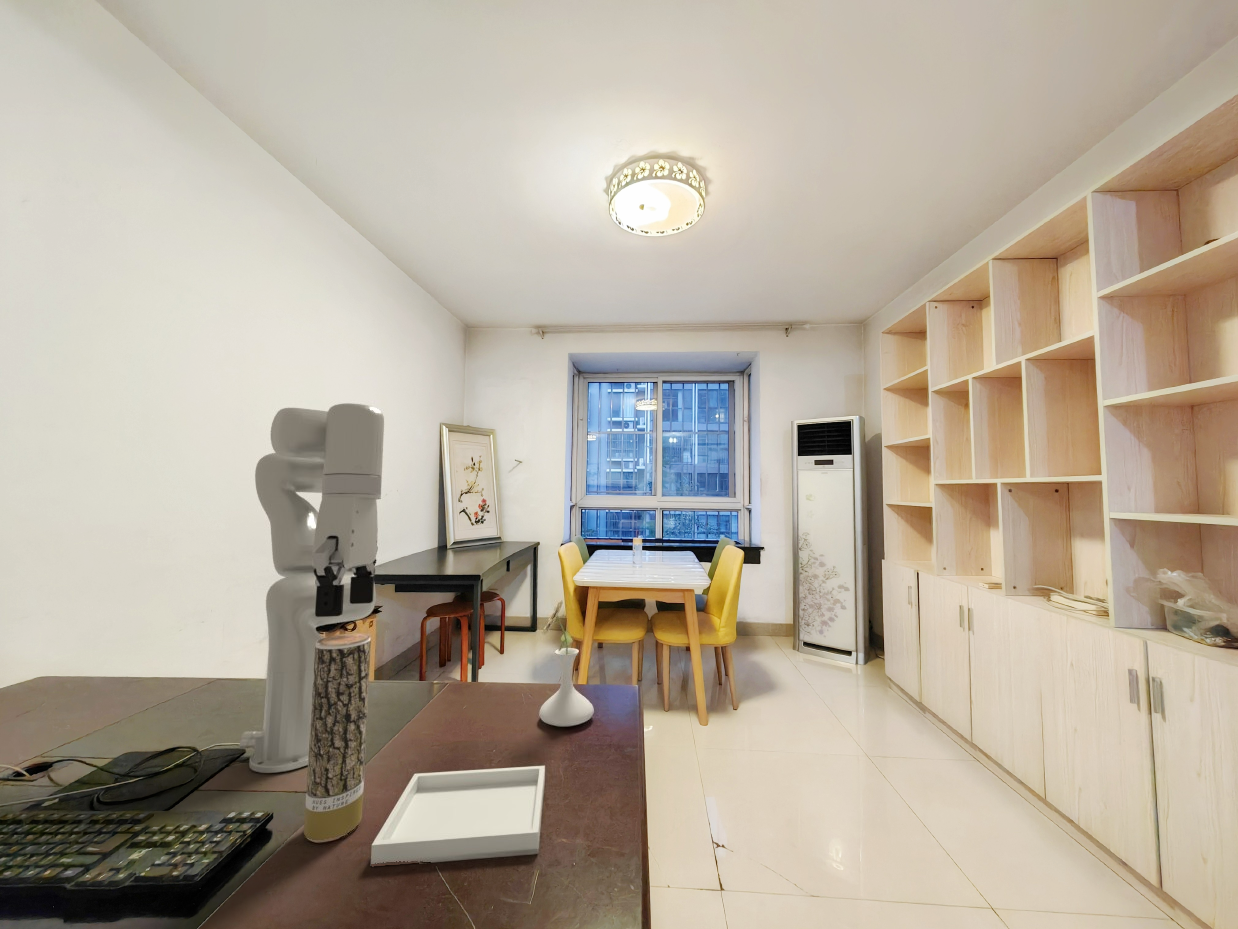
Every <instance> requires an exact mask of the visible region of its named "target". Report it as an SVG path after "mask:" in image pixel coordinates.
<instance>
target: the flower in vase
mask: <svg viewBox="0 0 1238 929" xmlns="http://www.w3.org/2000/svg"><path fill="white" fill-rule="evenodd" d="M563 600H564V599H559V600H558V602H557V605H555V607H554V609H553V612H552V615H551V616H550V617H549V618H548V619H547V622H548V623H547V624H546V625H545V626H544V628H543V629H542V636H543V635H544V636H545V635H546V634H547V633H548V632H549V631H550V630H551V628H552V626H553V625H554V623H556V622H558V624H559V626H560V628H561V630H562V633H563V634H562V635H561V637H560V641H561V644H560V646H559V648H558V649H556V650H555V651H554V654H555V655H556V656H557V658H558V660H559V664H560V665H559V666H560V670H561V675H560V676H561V679H560V680H561V683H560V687H559V689H558V690H557V691H556V692H555V693H554V694H553V695H552V696H550V697H549V698H548V699H546V701H545V702H544V703H543V704H542V705H541V707H540V708H539V712H538V716H539V717H540V719H541V721H542V722H544V723H545V724H548V725H550V726H556V727H573V726H577V725H581V724H583V723H585V722H587V721H588V720H590V719H591V718H592V716H593V715H594V712H595V710H594V706H593V703H591V702H590V700H589V699H588V698H586V697H585V696H584V695H582V694H581V693H580V692H579V691H578V690H576V688H575V687H574V684H573V668H574V667H573V666H574V663H575V659H576V656H578V655H579V652H580V651H579V649H577V648H572V647H570V645H572V643H573V642H574V641H573V639H572V636H571V635H570V633H569V632H568V630H565V628H564V626H563V624H562V622H561V620H560V618H559V614H560V611H561V609H562V606H563V603H564V601H563ZM564 646H565V648H564Z"/></svg>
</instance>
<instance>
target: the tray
mask: <svg viewBox="0 0 1238 929" xmlns="http://www.w3.org/2000/svg"><path fill="white" fill-rule="evenodd" d="M545 778H546V765H534V766H531V765H530V766H519V767H504V768H503V767H501V768H500V767H499V768H485V769H484V768H483V769H469V770H451V771H439V772H421V773H419V772H418V773H414V774H413V776H412V777H411V779H410V780H409V782H408V784H407V785H406V788H405V789H404V791H403V792H402V794H401V796H400V797H399V799H398V801H397V802H396V804H395V806H394V808H393V809H392V810H391V812H390V814H389V816H388V817H387V818H386V821H385V822H384V824H383V825H382V827H381V829H380V831H379V832H378V834H377V835H376V837H375V839H374V841H373V842H372V844H371V851H370V853H371V854H370V865H371V864H375V863H376V864H377V863H383V862H384V863H386V862H396V861H397V862H399V861H401V862H403V861H405V862H407V861H408V862H411V861H418V862H420V861H423V862H431V863H440V862H441V863H442V862H443V863H444V862H454V861H455V862H456V861H467V860H478V859H479V860H481V859H490V858H491V859H492V858H503V857H514V856H517V857H518V856H527V855H538V854H539V849H540V848H539V847H540V839H541V837H540V836H541V827H542V815H543V804H544V794H545V786H546V785H545V783H546V782H545V780H546V779H545Z"/></svg>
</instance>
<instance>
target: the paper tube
mask: <svg viewBox="0 0 1238 929" xmlns="http://www.w3.org/2000/svg"><path fill="white" fill-rule="evenodd" d="M371 636H372V635H371V634H369V633H364V632H353V633H352V632H351V633H341V634H339V633H338V634H334V635H330V636H326V637H323V638H322V639H319V640H317V641H316V646H315V659H314V675H313V692H312V708H311V724H310V740H309V757H308V765H307V773H306V774H307V775H306V777H307V778H306V788H305V789H306V794H305V810H304V827H303V835H305V836H306V837H307V838H309V839H312V840H324V839H329V838H335V837H338V836H341V835H344V834H346V833H348V831H351V830H352V829H353V828H355V827H356V826H357V825H358V826H359V824H360V823H359V822H361V821H362V817H363V804H364V803H363V802H364V789H365V788H364V786H365V785H364V784H365V766H366V746H367V745H366V744H367V725H368V707H369V706H368V705H369V688H370V687H369V686H370V684H369V683H370V664H371V663H370V662H371V644H372V641H371V640H372V639H371ZM358 823H359V824H358ZM358 826H357V827H358ZM357 827H356V828H357ZM356 828H355V829H356ZM305 836H304V837H305ZM306 837H305V838H306Z"/></svg>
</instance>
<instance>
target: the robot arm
mask: <svg viewBox="0 0 1238 929" xmlns="http://www.w3.org/2000/svg"><path fill="white" fill-rule="evenodd" d="M384 432H385V416H384V414H383V412H382V411H381V410H380V409H378V408H377V407H375V406H372V405H367V404H362V403H348V402H347V403H337V404H334V405H333V406H330V407H329V409H328V410H327V411H326V410H319V409H318V410H317V409H310V408H303V407H302V408H301V407H284V408H281V409H279V410H278V411H277V412H276V414H275V416H274V418H273V420H272V422H271V427H270V443H271V447H272V450H273V451H274V452H272V453H269V454H266V455H265V454H264V455H263V456H262V457H261V458H260V459H258V462H257V463H256V467H255V472H254V473H255V474H254V477H255V478H254V481H255V489H256V494H257V497H258V500H259V503H260V505H261V507H262V508H263V510H264V512H265V514H266V516H267V518H268V521H269V523H270V524H269V525H270V536H271V551H272V552H271V553H272V562H273V565H274V566H273V567H274V569H275V571H276V573H277V574H278V575H279V576H281V577H283V578H280V579H279V580H277V581H275V582H274V583H273V584H271V586H270V587H269V589H268V590H267V593H266V596H265V597H266V599H265V611H266V618H267V620H266V621H267V628H268V652H267V654H268V655H267V669H266V681H265V682H266V685H265V696H264V698H265V699H264V711H263V713H264V715H263V723H262V724H263V726H262V730H261V731H257V730H254V731H249V730H248V731H244V732H243V733H242V735H241V737H240V742H239V745H238V747H239V749H241V750H242V749H249V748H250V749H251V748H253V750H254V752H253V753H252V754H251V756H250V757H249V763H248V765H249V769H251V771H253V772H256V773H261V774H273V773H282V772H283V773H284V772H288V771H293V770H297V769H300V768H302V767H306V766H308V757H309V740H310V724H311V708H312V692H313V675H314V659H315V646H316V641H317V640H319V639H322V638H324V637H323V636H322V635H321V634H320V633H319V632H318V631H317V629H316V628H317V627H320V626H325V625H331V624H337V623H338V624H339V623H345V622H351V621H358V620H361V619H364V618H366V617H368V616H369V615H370V614H372V612H373V611H374V609H375V605H376V603H377V602H376V601H377V600H376V599H377V594H376V584H375V575H376V567H375V566H376V564H377V558H376V557H377V552H378V550H379V549H378V547H379V546H378V532H379V531H378V527H379V526H378V504H377V502H378V501H377V500H381V499H382V498H381V497H382V482H383V481H382V477H383V476H382V475H383V459H384V458H383V457H384V456H383V455H384V454H383V453H384V435H385V434H384ZM298 493H315V494H317V493H318V494H319V493H320V494H321V501H320V504H319V509H318V510H317V509H316V508H315V507H314V506H313V504H311V503H310V502H309V501H308V500H307V499H305V498H304V497H302V496H300V495H299V494H298Z"/></svg>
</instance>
